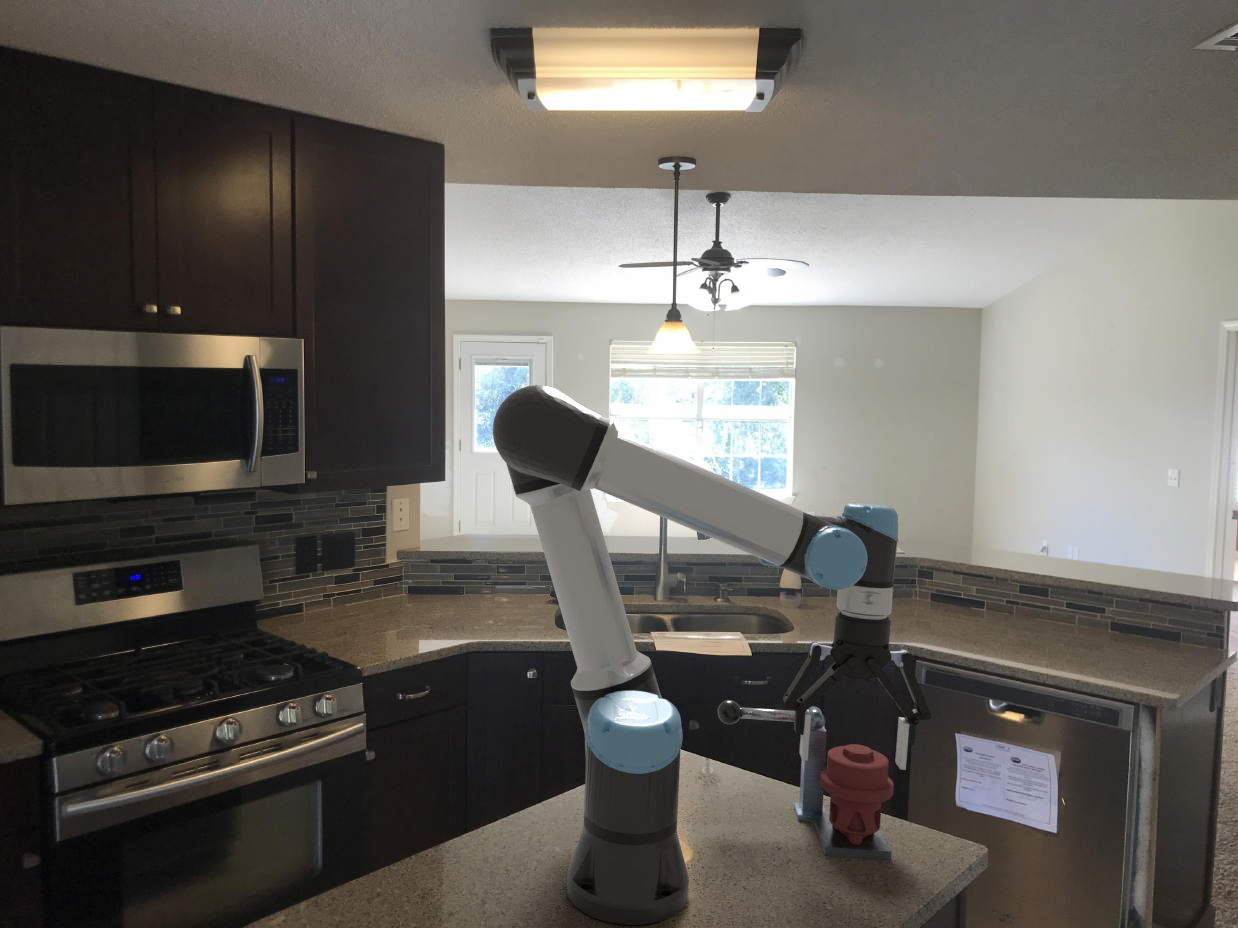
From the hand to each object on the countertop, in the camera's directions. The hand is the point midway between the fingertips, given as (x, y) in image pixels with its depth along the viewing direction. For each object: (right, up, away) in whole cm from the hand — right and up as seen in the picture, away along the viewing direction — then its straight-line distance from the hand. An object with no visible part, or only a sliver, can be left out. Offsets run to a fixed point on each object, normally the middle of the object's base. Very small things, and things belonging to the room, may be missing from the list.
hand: (851, 761), depth 120 cm
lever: (-10, +2, +9) cm, 14 cm away
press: (-1, -12, +3) cm, 12 cm away
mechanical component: (0, -11, 0) cm, 11 cm away
